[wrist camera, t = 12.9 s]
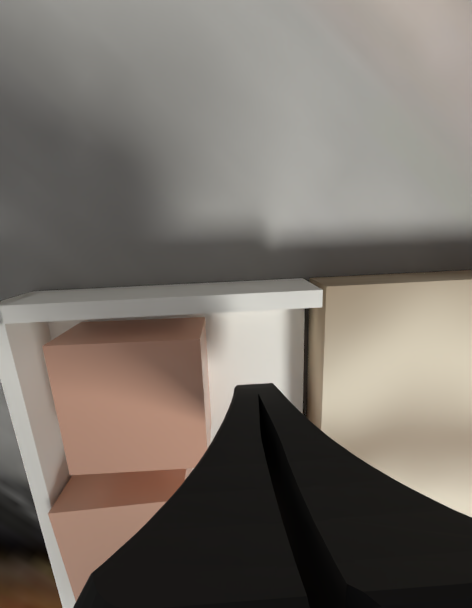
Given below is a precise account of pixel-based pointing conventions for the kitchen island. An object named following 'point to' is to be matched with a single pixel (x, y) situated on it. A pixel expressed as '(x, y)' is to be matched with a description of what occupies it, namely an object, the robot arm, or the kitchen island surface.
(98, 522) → the tile far
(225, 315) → the tray
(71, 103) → the kitchen island surface
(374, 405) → the board
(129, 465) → the tile near
